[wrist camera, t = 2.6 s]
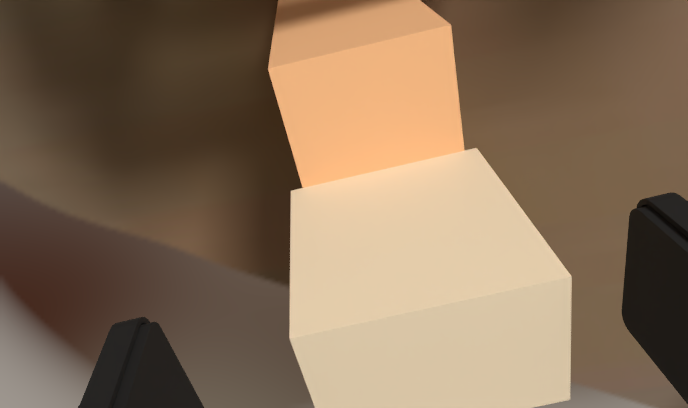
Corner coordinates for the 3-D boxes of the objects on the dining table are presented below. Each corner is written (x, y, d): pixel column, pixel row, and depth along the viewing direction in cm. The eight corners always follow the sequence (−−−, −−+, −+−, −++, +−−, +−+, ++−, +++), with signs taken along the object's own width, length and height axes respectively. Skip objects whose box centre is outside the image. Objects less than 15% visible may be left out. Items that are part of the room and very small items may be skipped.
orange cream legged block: (413, 157, 26) (569, 490, 11) (323, 178, 26) (361, 532, 12) (382, -38, 21) (573, 98, 7) (273, -11, 22) (229, 178, 7)
